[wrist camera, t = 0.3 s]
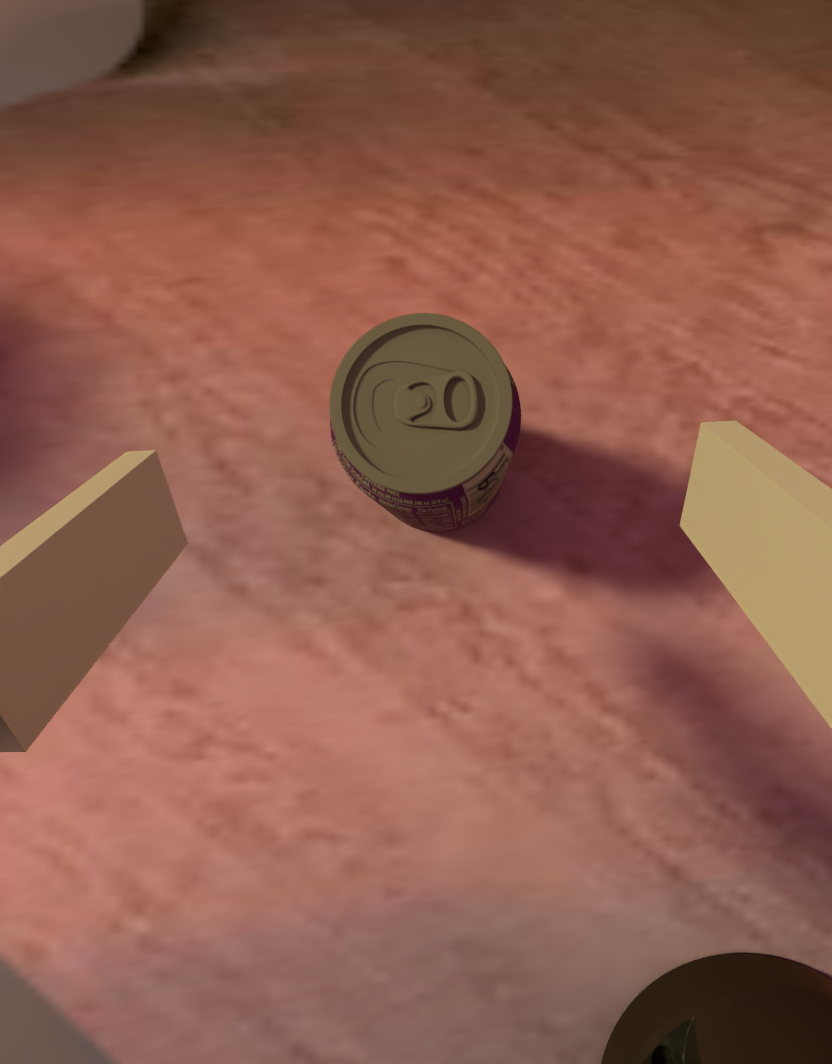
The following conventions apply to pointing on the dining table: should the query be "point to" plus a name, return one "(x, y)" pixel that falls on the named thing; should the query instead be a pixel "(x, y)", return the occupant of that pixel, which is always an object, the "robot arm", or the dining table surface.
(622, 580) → the dining table surface
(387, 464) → the beverage can
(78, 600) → the robot arm
